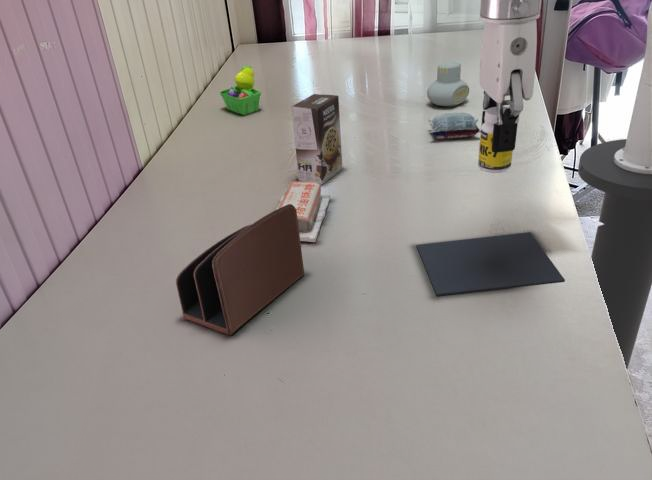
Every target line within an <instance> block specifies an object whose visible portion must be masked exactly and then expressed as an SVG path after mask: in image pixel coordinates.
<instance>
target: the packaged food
mask: <svg viewBox="0 0 652 480" xmlns="http://www.w3.org/2000/svg"><path fill="white" fill-rule="evenodd" d="M427 121H428V122H429V123H428V124H429V126H431V129H432V130H431V131H430V132H429V134H430V135H432V137H433V136H434V138H436V139H438V140H439V139H440V140H441V139H443V140H444V139H458V138H459V139H460V138H461V139H462V138H468V137H472V136H476V135H477V134H478V133H480V134H481V128H479V127H478V125H477V122H479V118H476V117H475V116H473V115H472V114H470V113H468V112H467V113H466V112H451V113H450V112H449V113H443V114H440V115H436V116H434V117H433V118H431V119H429V118H428V120H427Z"/></svg>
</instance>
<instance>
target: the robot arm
mask: <svg viewBox="0 0 652 480" xmlns="http://www.w3.org/2000/svg"><path fill="white" fill-rule="evenodd" d="M541 9H542V0H480V6H479V21H480V22H483V23H484V25H483V31H482V41H481V50H480V57H479V58H480V60H479V73H478V75H479V85H480V87H481V88H482V90H483V99H482V114H481V126H480V128H481V127H482V125H483V124H484V123H485V121H484V118H485V111H486V110H487V109H489V108H492V107H497V123H496V124H494V127H493V138H492V151H493V152H494V153H496V152H505V151H515V149H516V142H517V134H518V124H519V122H520V115H521V113H522V112H523V110H524V101H526V102H527V101H531V99H532V98H533V94H534V87H535V79H536V78H535V75H536V64H537V49H538V48H537V46H538V25H537V23H538V22H537V20H538V19H539V18H540V16H541ZM646 23H647V24H646V44H645V51H644V59H643V63H642V68H641V73H640V78H639V82H638V86H637V91H636V95H635V100H634V105H633V108H632V114H631V118H630V123H629V127H628V132H627V136H626V139H627V140H626V144H625V148H622V149H620V150H619V151H617V152H616V153H615V155H614V162H615V164H616V165H617V166H619V167H620V168H622V169H624V170H627V171H630V172H635V173H640V174H650V175H652V1H651V2H650V4H649V8H648V13H647V22H646ZM508 96H509V99H506V97H508ZM505 106H508V107H509V108H507V109H505V111H504V113H503V107H505Z"/></svg>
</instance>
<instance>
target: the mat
mask: <svg viewBox="0 0 652 480" xmlns="http://www.w3.org/2000/svg"><path fill="white" fill-rule="evenodd" d="M416 249H417V252H418V254H419V257H420V259H421V261H422V264H423V266H424V268H425V269H424V270H425V271H426V274H427V276H428V278H429V281H430V283H431V286H432V288H433V291H434V293H435V295H436V297H441V296H450V295H451V296H453V295H461V294H468V293H469V294H470V293H478V292H486V291H487V292H488V291H496V290H507V289H514V288H522V287H523V288H524V287H532V286H542V285H550V284H551V285H552V284H560V283H565V282H566V279H565V278H564V276H563V275H562V273H561V272H560V271H559V270H558V268H557V267H556V265H555V264H554V263H553V261H552V260H551V259H550V257H549V255H548V254H547V253H546V252H545V250H544V249H543V248H542V246H541V245H540V243H539V242H538V240H537V239H536V238H535V237H534V235H533V234H532V233H531V231H529V232H518V233H510V234H502V235H493V236H483V237H475V238H466V239H465V238H464V239H457V240H448V241H447V240H446V241H438V242H429V243H422V244H421V243H420V244H416Z"/></svg>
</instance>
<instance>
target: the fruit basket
mask: <svg viewBox="0 0 652 480" xmlns="http://www.w3.org/2000/svg"><path fill="white" fill-rule="evenodd" d="M254 77H255V72H254V70H253V69H252V66H251V65H243V66H242V67H241V69H240V71H239V72H238V73H237V74H236V76H235V77H234V81H235V84H236V85H233V86H231V87H230V88H227V89H223V90H221V91H219V94H220V97H222V100H223V102H224V104H225V107H226V109H227V110H229V111H231V112H234V113H236V114H239V115H242V116H246V115H250V114H252V113H255V112H258V111H259V109H260V108H259V107H260V106H259V105H260V97H261V94H262V91H261V90H258V89H255V88H254V87H255V78H254Z"/></svg>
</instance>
